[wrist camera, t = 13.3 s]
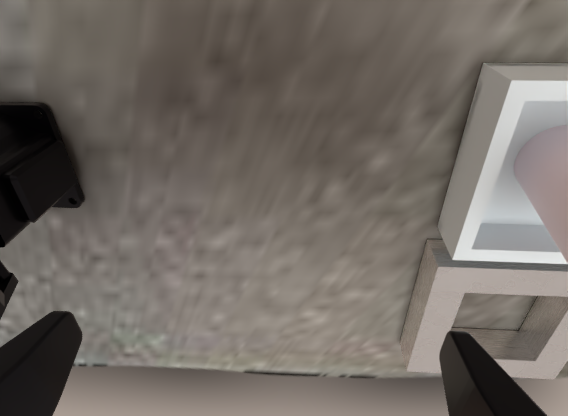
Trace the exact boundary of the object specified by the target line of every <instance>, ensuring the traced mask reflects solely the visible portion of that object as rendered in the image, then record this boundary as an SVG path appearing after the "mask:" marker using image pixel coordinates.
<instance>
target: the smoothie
mask: <svg viewBox="0 0 568 416" xmlns="http://www.w3.org/2000/svg"><path fill="white" fill-rule="evenodd" d="M514 174H515V177H516V179H517V180H518V182H519V184H520V185H521V187H522V189H523V190H524V192H525V194H526V195H527V197H528V199H529V200H530V202H531V204H532V205H533V207H534V209H535V210H536V212H537V214H538V215H539V217H540V219H541V220H542V222H543V223H544V225H545V227H546V228H547V230H548V232H549V233H550V235H551V237H552V238H553V240H554V242H555V243H556V245H557V247H558V248H559V250H560V252H561V253H562V255H563V257H564V258H565V260H566V262H567V263H568V125H562V126H556V127H552V128H549V129H547V130H544V131H542V132H540V133H539V134H537V135H535V136H534V137H533V138H531V139H530V140H529V141H528V142H527V143H526V144H525V145H524V146H523V147H522V148H521V150H520V151H519V153H518V155H517V157H516V159H515V163H514Z"/></svg>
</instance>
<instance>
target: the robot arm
mask: <svg viewBox="0 0 568 416" xmlns="http://www.w3.org/2000/svg"><path fill="white" fill-rule="evenodd" d="M38 111H40V112H41V113H42V115H43V116H41V115H40V114H39V113H38ZM73 198H74V199H75V200H76V201H75V200H74V199H73ZM83 202H84V197H83V194H82V192H81V189H80V187H79V184H78V181H77V178H76V175H75V173H74V170H73V167H72V165H71V162H70V160H69V157H68V154H67V152H66V149H65V146H64V144H63V142H62V139H61V137H60V134H59V131H58V129H57V126H56V123H55V121H54V118H53V115H52V113H51V111H50V109H49V108H48V107H47V106H46V105H44V104H42V103H6V102H0V247H5V246H6V245H7V244H8V243H9V242H10V241H11V240H12V239H13V238H15V237H16V236H17V235H18V234H19V233H20V232H21V231H22V230H23V229H24V228H25V227H26V226H27V225H29V224H30V223H31V222H33V223H34V222H36V221H37V220H38V219H39V218H40V217H41V216H42V215H43V214H45V213H46V212H47V211H48V210H49V209H50V208H51V207H62V208H78V207H79V206H81V205H82V203H83ZM17 283H18V280H17V278H16V277H15V276H14V274H13V273H9V271H8V270H7V269H6V267H5V266H4V265H3V263H2V262H1V261H0V319H1V317H2V315H3V313H4V311H5V308H6V306H7V304H8V302H9V300H10V298H11V296H12V294H13V292H14V290H15V288H16V285H17ZM81 341H82V331H81V329H80V327H79V325H78V323H77V321H76V319H75V317H74V315H73V314H72V313H71V312H68V311H53V312H51V313H49V314H48V315H46V316H45V317H43V318H42V319H40V320H39V321H38V322H36V323H35V324H33V325H32V326H30V327H29V328H27V329H26V330H25V331H23V332H22V333H20V334H19V335H17V336H16V337H15V338H13V339H12V340H10V341H9V342H7V343H6V344H4V345H3V346H2V347H0V416H52V415H53V413H54V411H55V409H56V407H57V404H58V402H59V400H60V397H61V395H62V392H63V390H64V387H65V384H66V382H67V379H68V376H69V374H70V371H71V368H72V366H73V363H74V360H75V358H76V355H77V352H78V350H79V347H80V344H81ZM439 361H440V367H441V372H442V378H443V384H444V389H445V395H446V400H447V406H448V412H449V416H547V415H546V414H545V413H544V411H543V410H542V409H541V408H540V407H539V406H538V405H537V404H536V403H535V402H534V401H533V400H532V399H531V398H530V397H529V396H528V395H527V394H526V393H525V392H524V390H523V389H522V388H521V387H520V386H519V385H518V384H517V383H516V382H515V381H514V380H513V379H512V378H511V377H510V376H509V375H508V374H507V372H506V371H505V370H504V369H503V368H502V367H501V366H500V365H499V364H498V363H497V362H496V361H495V360H494V359H493V358H492V357H491V356H490V355H489V354H488V352H487V351H486V350H485V349H484V348H483V347H482V346H481V345H480V344H479V343H478V342H477V341H476V340H475V339H474V338H473V337H472V336H471V335H470V334H469V333H468V332H465V331H449V332H447V334H446V336H445V339H444V342H443V344H442V347H441V350H440V354H439Z"/></svg>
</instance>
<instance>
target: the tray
mask: <svg viewBox="0 0 568 416" xmlns="http://www.w3.org/2000/svg"><path fill="white" fill-rule="evenodd" d="M562 125H568V63H483V65H482V68H481V72H480V75H479V79H478V83H477V86H476V90H475V93H474V97H473V101H472V104H471V108H470V111H469V115H468V118H467V122H466V126H465V129H464V133H463V136H462V140H461V143H460V147H459V151H458V154H457V158H456V161H455V165H454V168H453V172H452V176H451V179H450V183H449V186H448V190H447V193H446V197H445V201H444V204H443V208H442V211H441V215H440V218H439V222H438V226H437V228H438V230H439V232H440V234H441V236H442V238H443V241H444V243H445V245H446V247H447V249H448V252H449V254H450V256H451V258H452V260H468V261H495V262H523V263H550V264H568V263H567V262H566V260H565V258H564V257H563V255H562V253H561V252H560V250H559V248H558V247H557V245H556V243H555V242H554V240H553V238H552V237H551V235H550V233H549V232H548V230H547V228H546V227H545V225H544V223H543V222H542V220H541V219H540V217H539V215H538V214H537V212H536V210H535V209H534V207H533V205H532V204H531V202H530V200H529V199H528V197H527V195H526V194H525V192H524V190H523V189H522V187H521V185H520V184H519V182H518V180H517V179H516V177H515V174H514V163H515V159H516V157H517V155H518V153H519V151H520V150H521V148H522V147H523V146H524V145H525V144H526V143H527V142H528V141H529V140H530V139H531V138H533V137H534V136H535V135H537V134H539V133H540V132H542V131H544V130H547V129H549V128H552V127H556V126H562Z"/></svg>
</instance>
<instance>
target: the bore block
mask: <svg viewBox="0 0 568 416" xmlns="http://www.w3.org/2000/svg"><path fill="white" fill-rule="evenodd" d="M464 293H488V294H512V295H536V296H538V297H537V299H536V300H535V302H534V304H533V306H532V308H531V310H530V311H529V313H528V315H527V317H526V319H525V321H524V322H523V324H522V326H521V328H520V330H519V331H512V330H491V329H470V328H451V327H452V325H453V322H454V319H455V317H456V314H457V312H458V309H459V306H460V304H461V301H462V298H463V296H464ZM449 331H465V332H468V333H469V334H470V335H471V336H472V337H473V338H474V339H475V340H476V341H477V342H478V343H479V344H480V345H481V346H482V347H483V348H484V349H485V350H486V351H487V352H488V354H489V355H490V356H491V357H492V358H493V359H494V360H495V361H496V362H497V363H498V364H499V365H500V366H501V367H502V368H503V369H504V370H505V371H506V372H507V374H508V375H509V376H510V377H522V378H540V379H555V377H556V376H557V375H558V373H559V372H560V371H561V369H562V368H563V366H564V365H565V364H566V362H567V361H568V264H550V263H523V262H495V261H468V260H452V258H451V256H450V254H449V252H448V249H447V247H446V245H445V243H444V241H443V240H433V239H427V242H426V245H425V249H424V253H423V257H422V260H421V264H420V268H419V272H418V275H417V279H416V283H415V287H414V290H413V294H412V298H411V302H410V305H409V309H408V313H407V317H406V320H405V324H404V328H403V332H402V335H401V339H400V345H401V349H402V354H403V358H404V363H405V367H406V371H414V372H432V373H442V372H441V367H440V361H439V354H440V350H441V347H442V344H443V342H444V339H445V336H446V334H447V332H449Z"/></svg>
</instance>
